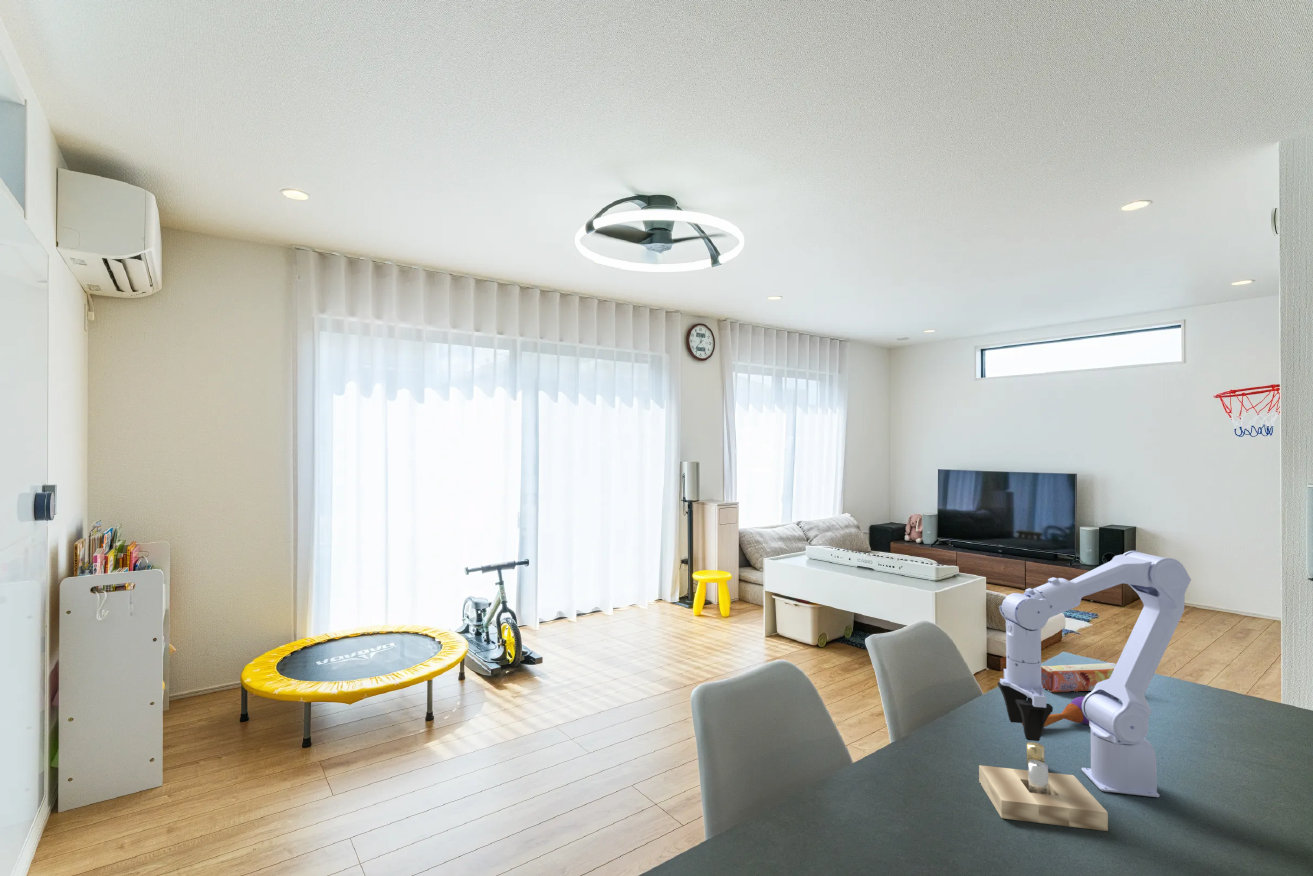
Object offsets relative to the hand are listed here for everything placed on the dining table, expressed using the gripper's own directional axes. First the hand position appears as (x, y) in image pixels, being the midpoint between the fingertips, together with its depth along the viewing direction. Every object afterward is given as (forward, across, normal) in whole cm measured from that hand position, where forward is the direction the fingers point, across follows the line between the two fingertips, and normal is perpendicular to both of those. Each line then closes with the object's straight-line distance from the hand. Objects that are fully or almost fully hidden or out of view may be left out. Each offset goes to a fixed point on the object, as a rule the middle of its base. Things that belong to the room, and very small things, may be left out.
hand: (1024, 730), depth 116 cm
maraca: (+10, -28, +18) cm, 35 cm away
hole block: (+9, +8, -1) cm, 12 cm away
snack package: (+10, -54, +34) cm, 65 cm away
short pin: (+9, -7, +5) cm, 12 cm away
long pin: (+9, +8, -1) cm, 12 cm away
